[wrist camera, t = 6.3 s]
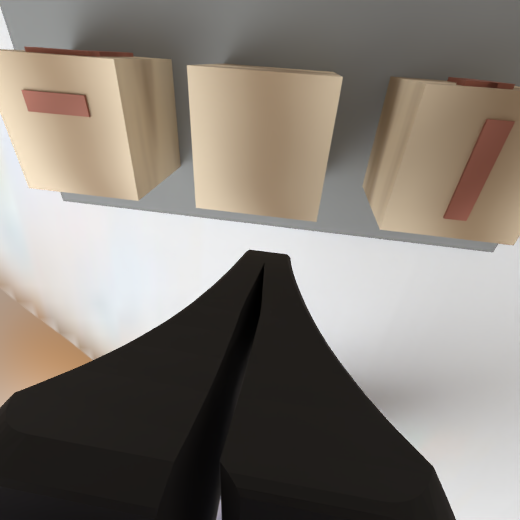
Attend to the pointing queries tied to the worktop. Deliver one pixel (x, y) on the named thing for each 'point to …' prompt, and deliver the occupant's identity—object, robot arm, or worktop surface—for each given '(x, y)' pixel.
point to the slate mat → (294, 57)
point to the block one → (447, 160)
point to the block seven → (90, 120)
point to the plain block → (261, 137)
